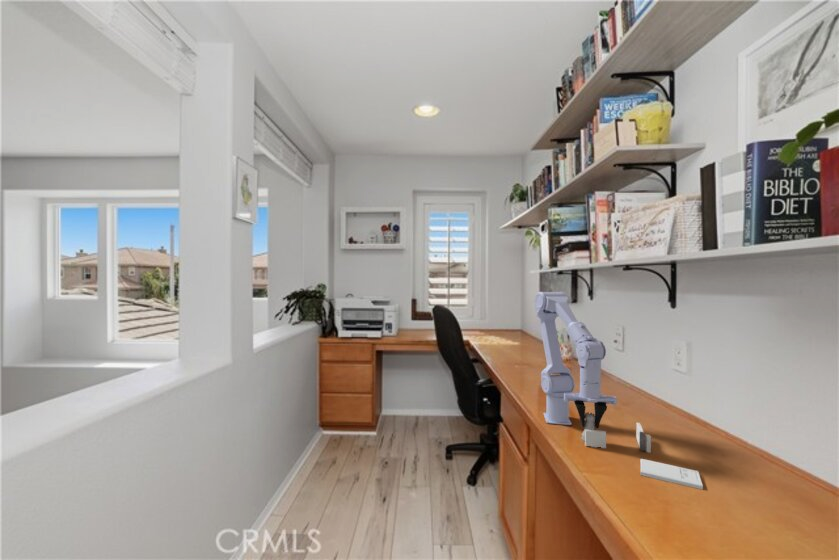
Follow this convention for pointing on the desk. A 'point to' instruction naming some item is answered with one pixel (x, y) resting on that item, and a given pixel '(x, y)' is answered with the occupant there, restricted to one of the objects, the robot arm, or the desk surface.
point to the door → (640, 436)
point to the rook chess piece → (588, 423)
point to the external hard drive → (670, 473)
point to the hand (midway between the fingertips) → (589, 426)
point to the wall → (599, 439)
